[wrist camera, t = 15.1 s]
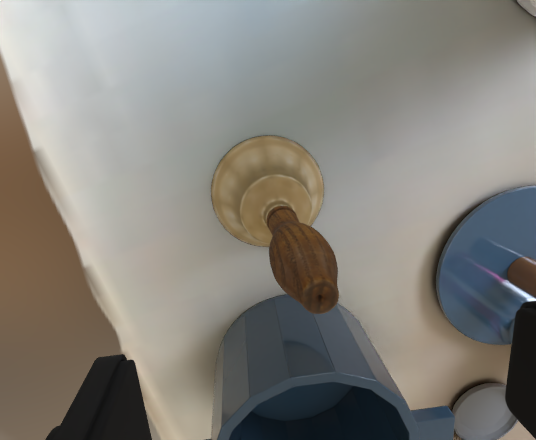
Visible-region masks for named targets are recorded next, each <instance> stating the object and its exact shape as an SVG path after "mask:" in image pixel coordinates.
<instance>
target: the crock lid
mask: <svg viewBox="0 0 536 440" xmlns="http://www.w3.org/2000/svg"><path fill="white" fill-rule="evenodd" d="M436 291H437V297H438V301H439V304H440V307H441V309H442V311H443V313H444V315H445V316H446V318H447V319H448V320H449V322H450V323H451V324H452V325H453V326H454V327H455V328H456V329H457V330H458V331H460V332H461V333H463V334H464V335H465V336H467V337H469V338H471V339H473V340H476V341H479V342H482V343H487V344H494V345H507V344H511V343H510V341H509V329H510V326H511V324H512V322H513V321H514V319H515V315H516V312H517V311H518V310H519V309H520V307H521V305H522V304H523V303H525V302H529V301H536V185H529V186H523V187H517V188H514V189H511V190H508V191H505V192H502V193H500V194H498V195H496V196H494V197H492V198H490V199H488V200H487V201H485V202H483V203H482V204H481V205H479V206H478V207H477V208H475V209H474V210H473V211H472V212H471V213H469V214H468V215H467V216H466V217H465V218H464V219H463V220H462V222H461V223H460V224H459V225H458V226H457V227H456V229H455V230H454V232H453V233H452V234H451V236H450V237H449V239H448V241H447V243H446V245H445V247H444V249H443V252H442V254H441V257H440V260H439V264H438V267H437V275H436Z"/></svg>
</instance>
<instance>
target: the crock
mask: <svg viewBox="0 0 536 440" xmlns="http://www.w3.org/2000/svg"><path fill="white" fill-rule="evenodd" d="M454 425H455V416H454V414H453V413H452V412H451V410H450V409H449V408H448V406H440V407H433V408H425V409H418V410H411V411H410V409H409V407H408V405H407V403H406V401H405V399H404V397H403V396H402V394H401V392H400V391H399V389H398V387H397V386H396V384H395V382H394V380H393V379H392V377H391V375H390V374H389V372H388V370H387V369H386V367H385V365H384V363H383V362H382V360H381V358H380V357H379V355H378V353H377V352H376V350H375V348H374V346H373V345H372V343H371V341H370V340H369V338H368V336H367V335H366V333H365V331H364V329H363V328H362V326H361V324H360V323H359V321H358V320H357V319H356V318H355V317H354V316H353V315H352V314H351V313H350V312H349V311H348V310H347V309H345V308H344V307H342V306H341V305H339V304H338V303H337V304H336V305H335V307H334V308H332V309H331V310H330V311H328V312H326V313H323V314H314V313H311V312H309V311H308V310H306V309H305V308H304V307H303V305H302V304H301V303H300V302H298V301H296V300H295V299H293V298H292V297H291V296H289V295H288V294H287V295H281V296H277V297H273V298H270V299H267V300H265V301H263V302H260V303H258V304H257V305H255V306H253V307H251V308H250V309H248V310H247V311H246V312H244V313H243V314H242V315H241V316H240V317H239V318H238V319H237V320H236V321H235V322H234V323H233V324H232V325H231V327H230V328H229V329H228V331H227V333H226V334H225V336H224V338H223V340H222V343H221V345H220V349H219V353H218V357H217V360H216V369H215V385H214V401H213V416H212V432H211V439H206V440H453V437H454Z"/></svg>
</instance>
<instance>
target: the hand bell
mask: <svg viewBox="0 0 536 440" xmlns="http://www.w3.org/2000/svg"><path fill="white" fill-rule="evenodd" d="M323 196H324V184H323V178H322V175H321V172H320V169H319V166H318V165H317V163H316V161H315V160H314V158H313V157H312V156H311V155H310V153H309V152H308V151H307V150H306V149H304V148H303V147H302V146H300V145H299V144H298V143H296V142H294V141H292V140H289V139H287V138H283V137H278V136H258V137H254V138H251V139H248V140H245V141H243V142H241V143H240V144H238V145H236V146H235V147H233V148H232V149H231V150H230V151H229V152H228V153H227V154H226V155H225V156H224V158H223V159H222V160H221V161H220V163H219V165H218V167H217V168H216V171H215V173H214V176H213V180H212V185H211V197H212V204H213V208H214V211H215V213H216V215H217V218H218V219H219V221H220V222H221V224H222V225H223V227H224V228H225V229H226V230H227V231H228V232H229V233H230V234H232V235H233V236H234V237H236V238H237V239H239V240H241V241H243V242H245V243H248V244H251V245H255V246H263V247H269V257H270V264H271V268H272V271H273V274H274V277H275V279H276V281H277V282H278V284H279V285H280V287H281V288H282V289H283V290H284V291H285V292H286V293H287V294H288V295H289V296H291V297H292V298H293V299H295V300H296V301H298V302H300V303H301V304H302V305H303V307H304V308H305V309H306V310H308V311H309V312H311V313H314V314H323V313H326V312H328V311H330V310H331V309H332V308H334V307H335V305H336V304H337V302H338V298H339V292H338V288H337V275H338V268H337V262H336V258H335V255H334V252H333V250H332V248H331V247H330V245H329V244H328V242H327V241H326V240H325V238H324V237H323V236H322V235H321V234H320V233H319V232H318V231H316V230H315V229H314V228H312V227H310V226H311V225H312V224H313V222H314V221H315V219H316V217H317V216H318V214H319V211H320V209H321V206H322V202H323Z"/></svg>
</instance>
